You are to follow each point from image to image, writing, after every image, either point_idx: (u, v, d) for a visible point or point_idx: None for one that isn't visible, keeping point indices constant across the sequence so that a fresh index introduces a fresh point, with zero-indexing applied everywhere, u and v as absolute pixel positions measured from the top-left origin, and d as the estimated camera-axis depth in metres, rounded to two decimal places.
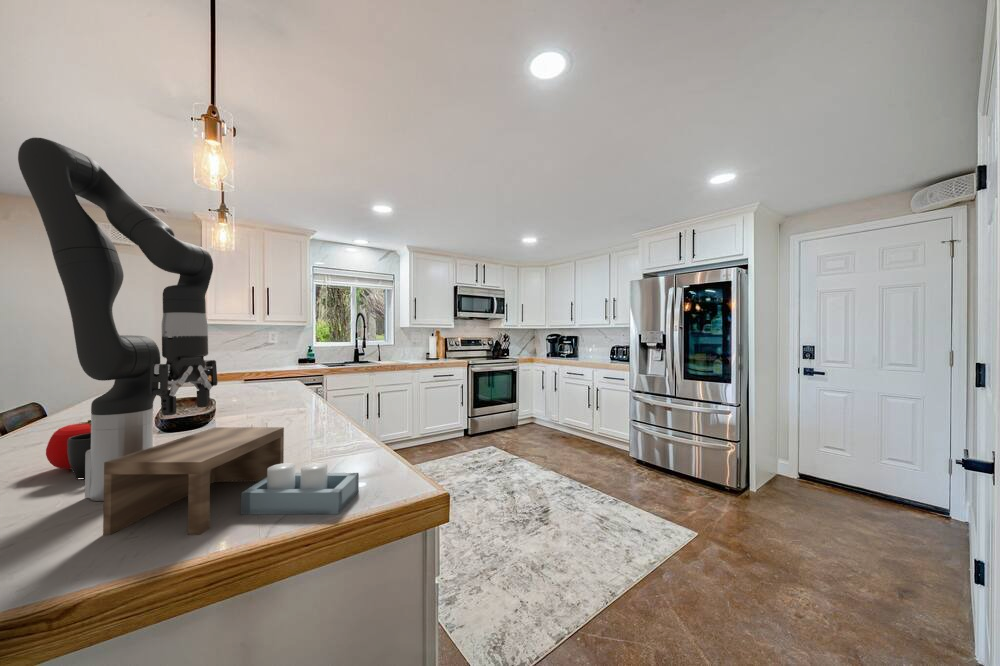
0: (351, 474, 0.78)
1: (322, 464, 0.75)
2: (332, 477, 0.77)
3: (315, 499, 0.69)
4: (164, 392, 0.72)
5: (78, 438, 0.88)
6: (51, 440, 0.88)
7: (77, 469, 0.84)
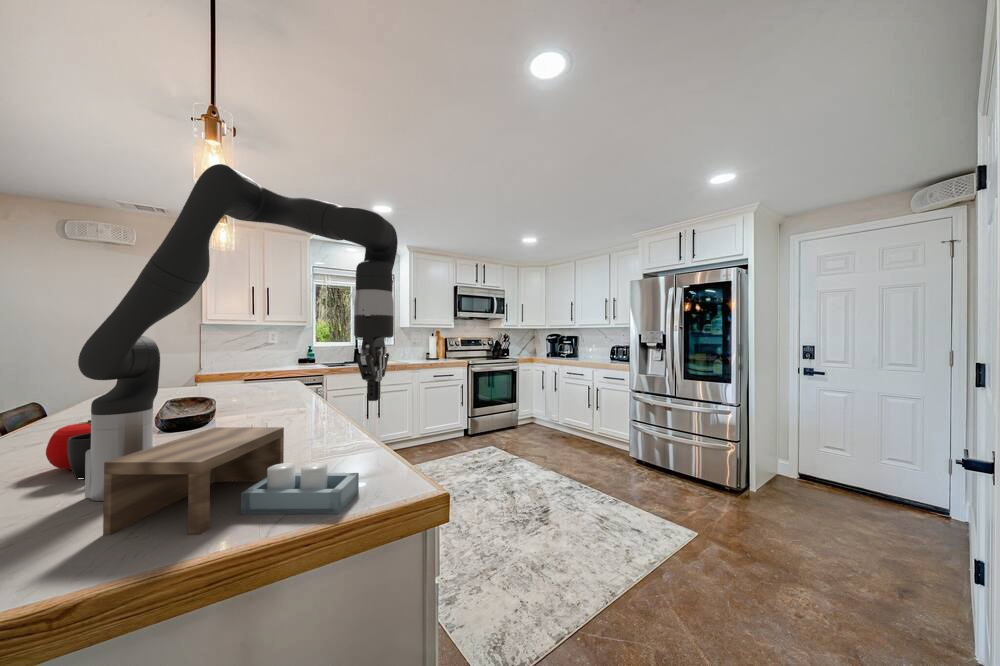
0: (351, 474, 0.78)
1: (322, 464, 0.75)
2: (332, 477, 0.77)
3: (315, 499, 0.69)
4: (375, 377, 0.71)
5: (78, 438, 0.88)
6: (51, 440, 0.88)
7: (77, 469, 0.84)
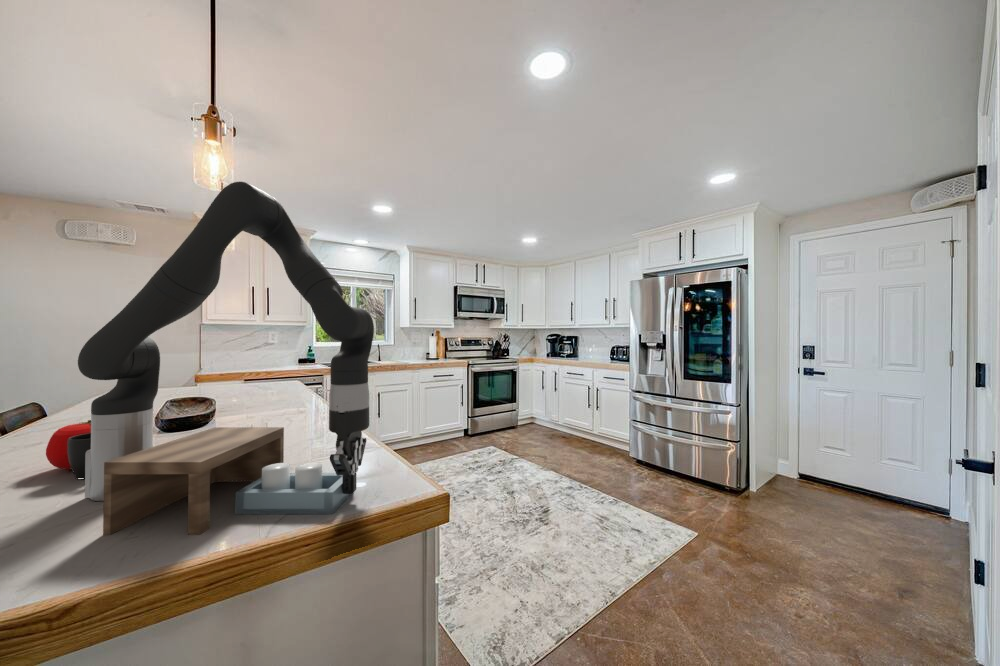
0: None
1: (317, 464, 0.75)
2: (327, 477, 0.77)
3: (309, 499, 0.69)
4: (350, 473, 0.71)
5: (78, 438, 0.88)
6: (51, 440, 0.88)
7: (77, 469, 0.84)
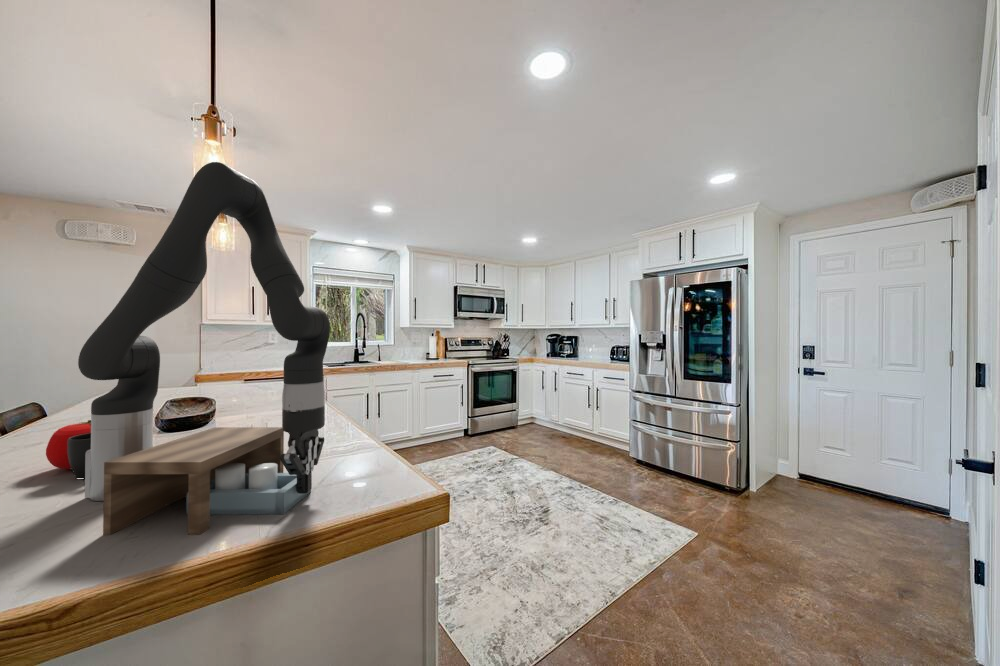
0: None
1: (272, 464, 0.75)
2: (283, 477, 0.77)
3: (260, 499, 0.68)
4: (303, 472, 0.71)
5: (78, 438, 0.88)
6: (51, 440, 0.88)
7: (77, 469, 0.84)
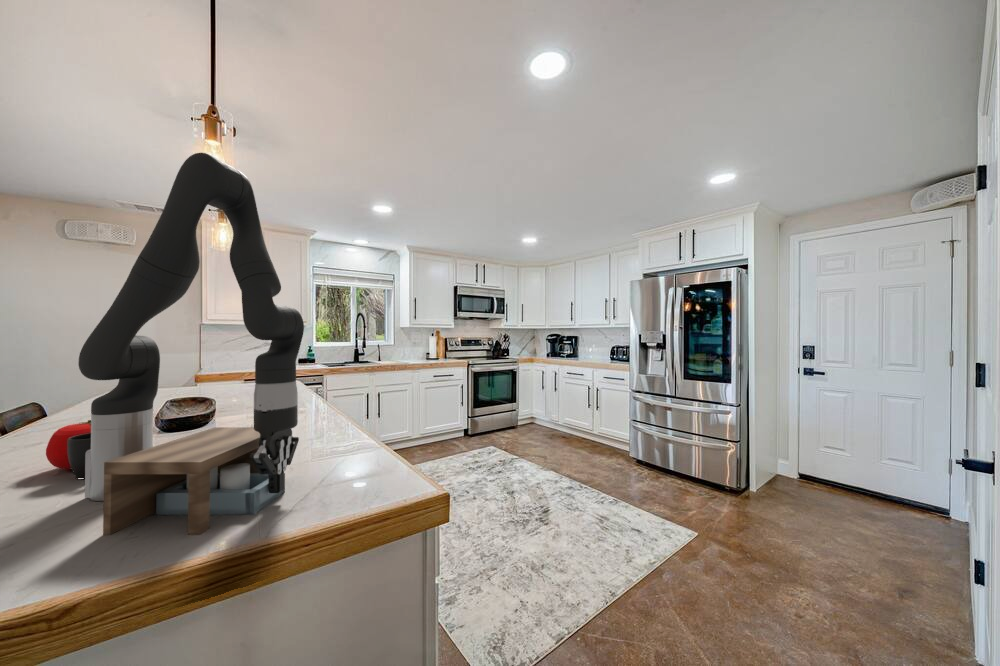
0: None
1: (245, 464, 0.75)
2: (257, 477, 0.77)
3: (230, 499, 0.68)
4: (274, 472, 0.71)
5: (78, 438, 0.88)
6: (51, 440, 0.88)
7: (77, 469, 0.84)
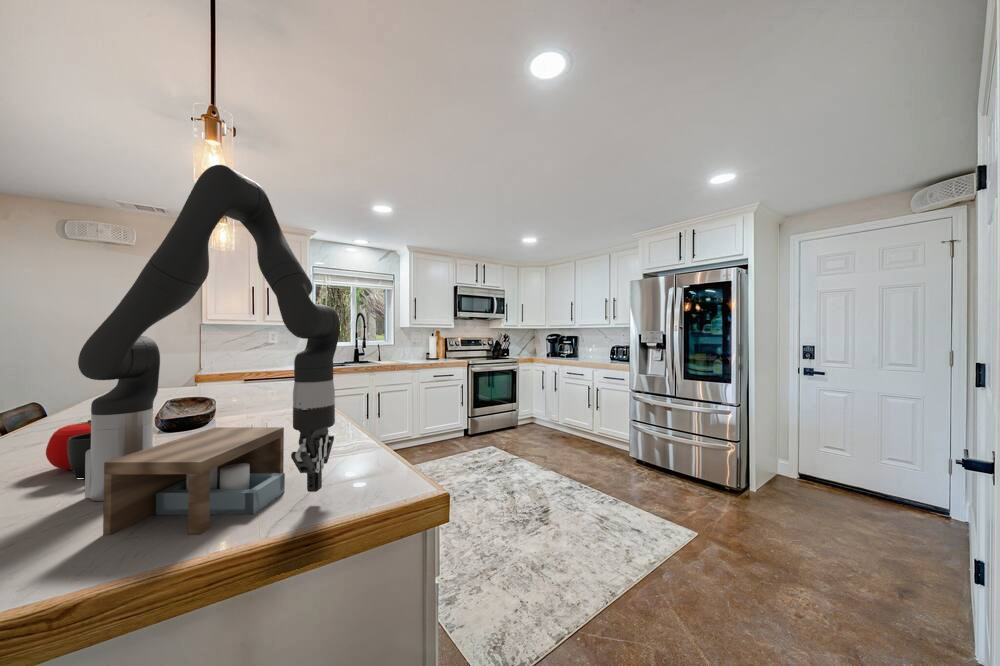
0: (276, 474, 0.77)
1: (245, 464, 0.75)
2: (256, 477, 0.77)
3: (230, 499, 0.68)
4: (313, 470, 0.71)
5: (78, 438, 0.88)
6: (51, 440, 0.88)
7: (77, 469, 0.84)
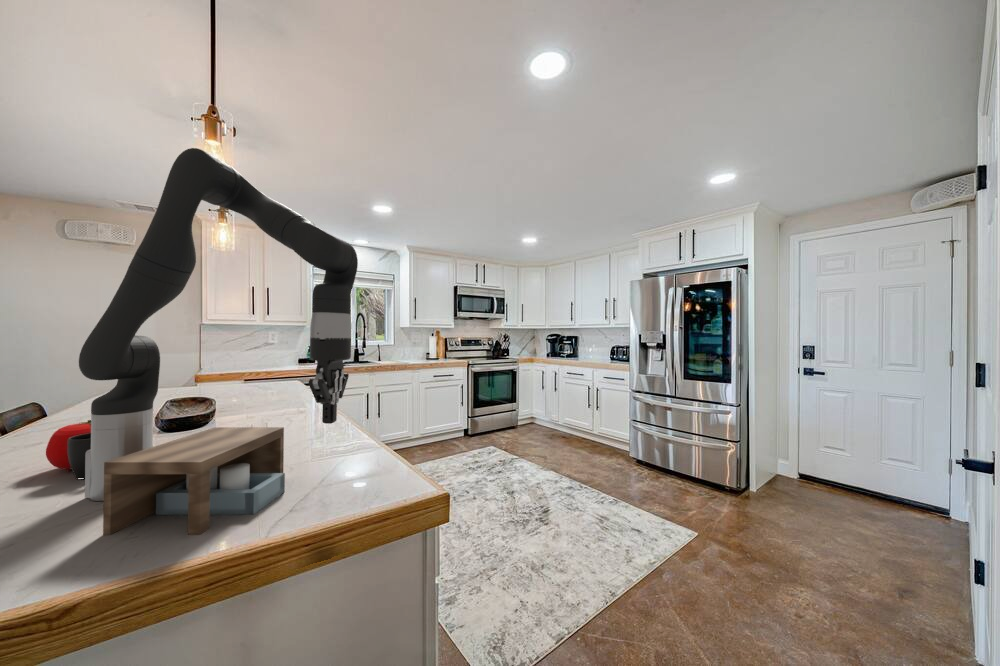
0: (276, 474, 0.77)
1: (245, 464, 0.75)
2: (256, 477, 0.77)
3: (230, 499, 0.68)
4: (329, 400, 0.71)
5: (78, 438, 0.88)
6: (51, 440, 0.88)
7: (77, 469, 0.84)
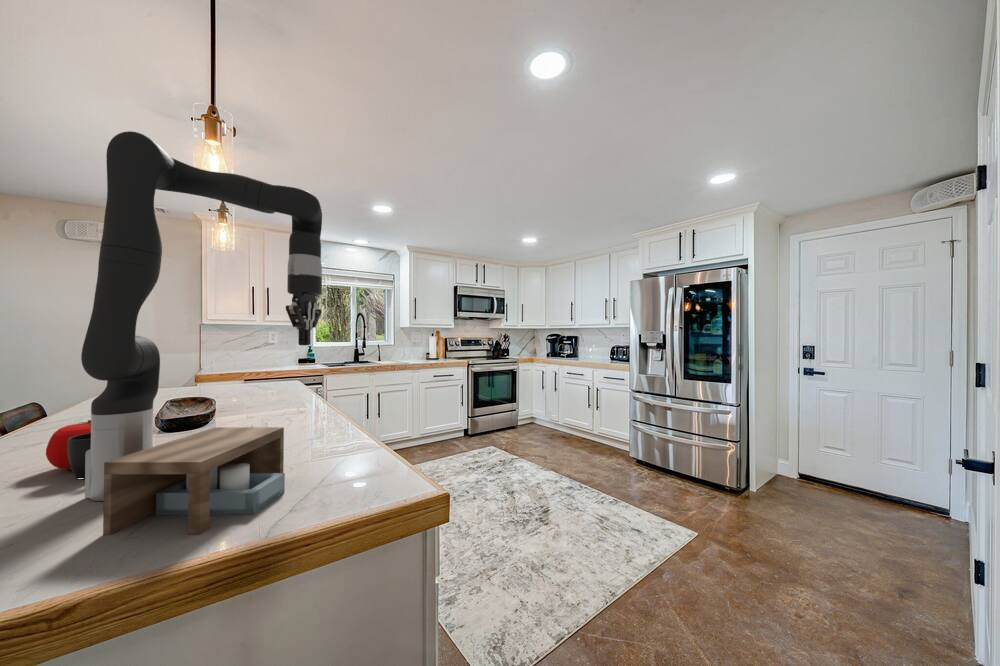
0: (276, 474, 0.77)
1: (245, 464, 0.75)
2: (256, 477, 0.77)
3: (230, 499, 0.68)
4: (303, 325, 0.88)
5: (78, 438, 0.88)
6: (51, 440, 0.88)
7: (77, 469, 0.84)
